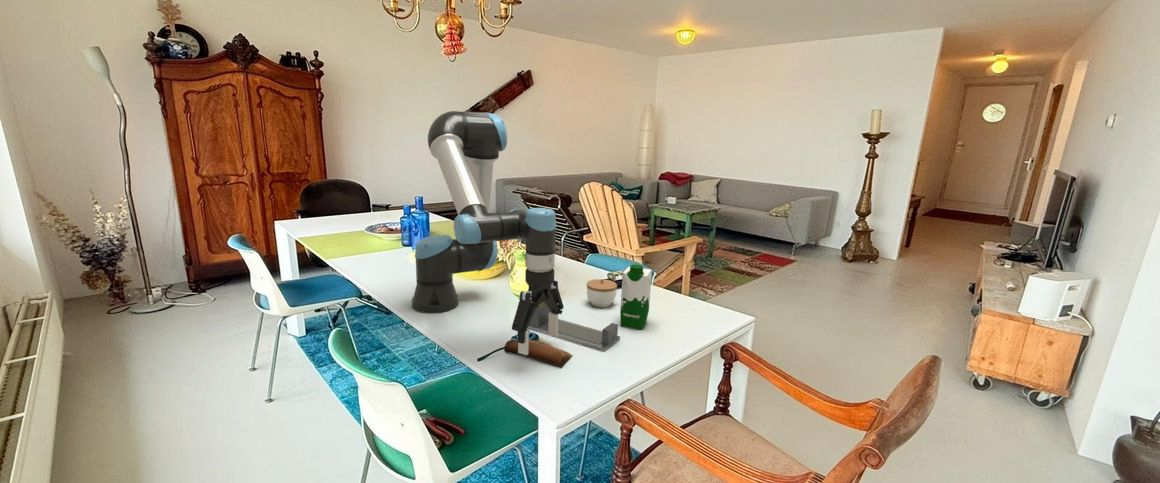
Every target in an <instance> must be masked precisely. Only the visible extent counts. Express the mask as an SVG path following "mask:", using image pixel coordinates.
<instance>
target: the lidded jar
mask: <svg viewBox="0 0 1160 483" xmlns="http://www.w3.org/2000/svg"><path fill="white" fill-rule="evenodd" d="M617 289H618V284H617V283H616V282H615V281H613V280H610V279H603V278H599V279H598V278H597V279H592V280H588V281H587V282H586V295H587V296H586V297H587V299H588V301H589V302H590V303H591V305H592V307H596V308H602V309H604V308H608V307H609V306H610V305H611V304H612V303H613V302H614V300H615V299H616V295H617Z"/></svg>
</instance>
